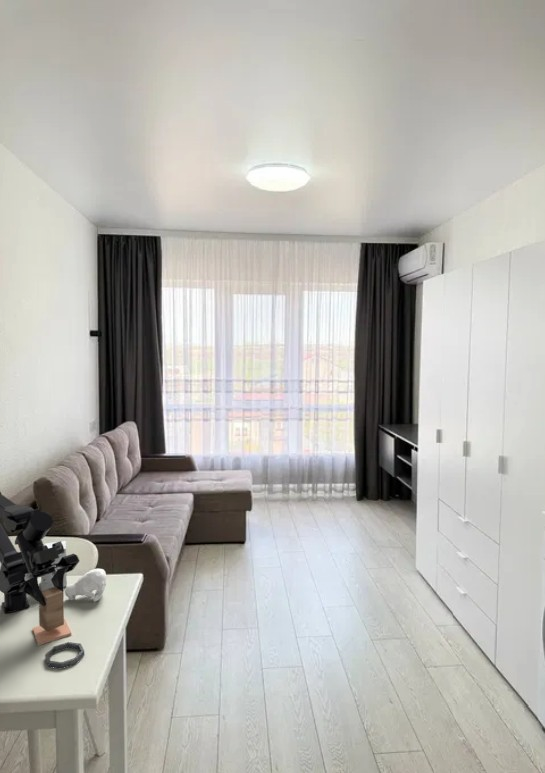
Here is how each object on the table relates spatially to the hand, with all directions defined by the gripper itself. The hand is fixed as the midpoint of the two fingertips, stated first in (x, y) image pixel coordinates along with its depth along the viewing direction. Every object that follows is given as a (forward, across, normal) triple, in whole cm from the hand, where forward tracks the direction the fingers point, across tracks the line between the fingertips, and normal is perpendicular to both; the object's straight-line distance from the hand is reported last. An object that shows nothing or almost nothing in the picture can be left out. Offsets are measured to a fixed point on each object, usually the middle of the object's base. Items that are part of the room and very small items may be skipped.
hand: (53, 602), depth 130 cm
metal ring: (+14, -3, -2) cm, 15 cm away
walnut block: (+4, 0, +6) cm, 7 cm away
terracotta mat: (+5, 0, +7) cm, 9 cm away
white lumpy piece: (-1, +15, +14) cm, 21 cm away
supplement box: (-12, +14, +25) cm, 31 cm away
